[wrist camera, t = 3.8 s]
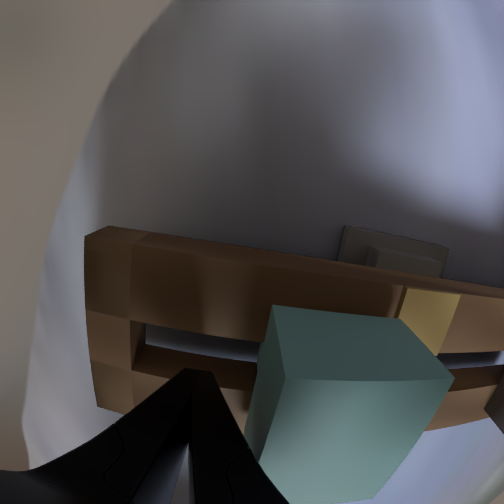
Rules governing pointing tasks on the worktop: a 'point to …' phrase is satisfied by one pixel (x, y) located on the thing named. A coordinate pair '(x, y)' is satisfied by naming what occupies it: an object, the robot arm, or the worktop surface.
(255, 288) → the brown long slotted block
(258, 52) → the worktop surface
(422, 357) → the block
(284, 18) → the worktop surface
